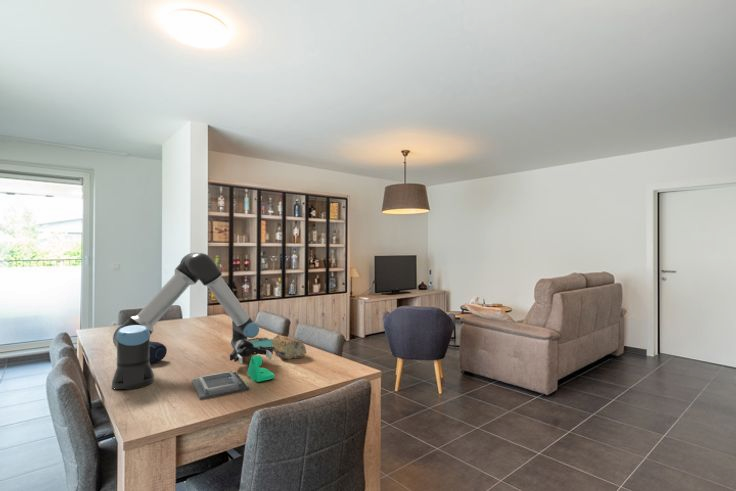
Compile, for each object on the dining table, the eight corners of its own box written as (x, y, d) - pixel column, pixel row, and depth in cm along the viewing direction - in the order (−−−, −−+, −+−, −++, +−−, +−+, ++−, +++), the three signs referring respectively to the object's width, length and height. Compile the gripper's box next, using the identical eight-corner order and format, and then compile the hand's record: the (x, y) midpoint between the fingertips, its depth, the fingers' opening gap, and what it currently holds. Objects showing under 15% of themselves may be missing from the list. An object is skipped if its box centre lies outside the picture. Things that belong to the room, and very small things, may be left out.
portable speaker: (113, 361, 189) (113, 341, 189) (131, 356, 198) (131, 337, 198) (152, 366, 181) (152, 345, 181) (169, 360, 191) (169, 340, 191)
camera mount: (274, 380, 162) (275, 356, 162) (257, 384, 157) (257, 359, 157) (264, 373, 171) (264, 350, 172) (247, 376, 167) (247, 353, 167)
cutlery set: (254, 352, 204) (254, 348, 204) (238, 342, 229) (238, 338, 229) (289, 347, 215) (289, 343, 215) (270, 338, 240) (270, 334, 240)
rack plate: (199, 399, 141) (199, 393, 141) (191, 381, 160) (191, 376, 160) (248, 389, 151) (248, 383, 151) (235, 374, 169) (235, 368, 169)
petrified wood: (268, 352, 203) (272, 333, 204) (290, 354, 210) (293, 336, 211) (282, 360, 187) (286, 340, 188) (305, 361, 194) (309, 342, 196)
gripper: (268, 351, 198) (282, 362, 180) (218, 359, 184) (228, 371, 166) (268, 337, 198) (282, 346, 180) (218, 344, 184) (228, 354, 166)
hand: (256, 358), depth 173 cm, fingers open, 13 cm apart
